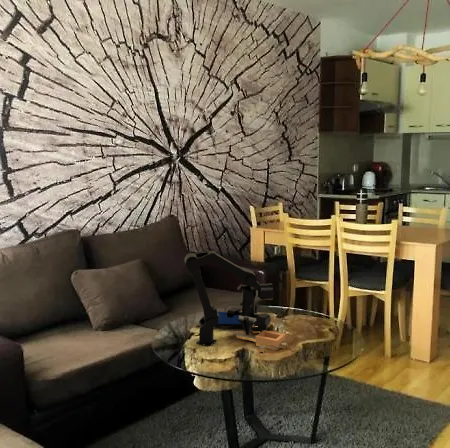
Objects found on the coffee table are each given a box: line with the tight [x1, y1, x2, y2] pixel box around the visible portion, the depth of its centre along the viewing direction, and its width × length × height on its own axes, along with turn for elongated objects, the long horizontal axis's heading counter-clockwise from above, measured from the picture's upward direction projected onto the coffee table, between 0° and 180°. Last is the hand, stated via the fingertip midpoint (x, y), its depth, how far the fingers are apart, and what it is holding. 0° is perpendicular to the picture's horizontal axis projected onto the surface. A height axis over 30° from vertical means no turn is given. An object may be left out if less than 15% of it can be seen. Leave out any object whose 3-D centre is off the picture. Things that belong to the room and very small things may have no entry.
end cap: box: [251, 312, 271, 332], centre depth 250 cm, size 10×7×7 cm
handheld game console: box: [214, 311, 243, 328], centre depth 256 cm, size 16×13×9 cm
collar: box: [255, 330, 286, 347], centre depth 234 cm, size 8×10×4 cm
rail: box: [236, 331, 288, 349], centre depth 236 cm, size 18×23×2 cm
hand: (247, 334), depth 239 cm, fingers closed
